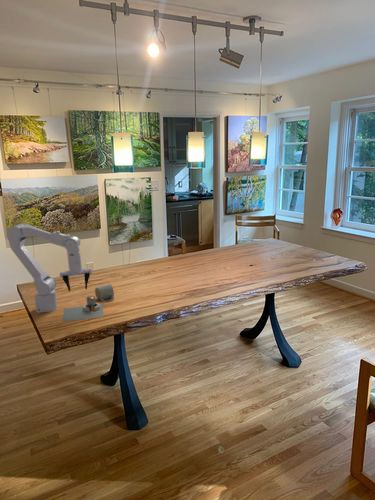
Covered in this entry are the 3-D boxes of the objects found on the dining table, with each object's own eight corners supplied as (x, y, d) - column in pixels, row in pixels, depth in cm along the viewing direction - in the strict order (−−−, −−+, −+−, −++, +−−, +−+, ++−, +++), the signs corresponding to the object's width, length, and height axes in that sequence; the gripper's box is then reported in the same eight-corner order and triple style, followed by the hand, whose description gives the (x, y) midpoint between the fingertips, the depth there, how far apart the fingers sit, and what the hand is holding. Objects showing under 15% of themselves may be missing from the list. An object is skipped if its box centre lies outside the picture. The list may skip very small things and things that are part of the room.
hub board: (62, 323, 168) (62, 318, 168) (64, 310, 183) (63, 305, 183) (103, 318, 173) (103, 313, 172) (102, 305, 188) (101, 301, 187)
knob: (87, 307, 184) (86, 296, 183) (95, 306, 185) (94, 295, 184) (88, 311, 179) (87, 299, 178) (96, 309, 181) (95, 298, 179)
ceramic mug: (95, 298, 198) (93, 284, 196) (110, 295, 202) (109, 281, 200) (101, 305, 189) (100, 290, 187) (116, 301, 193) (115, 287, 191)
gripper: (58, 266, 172) (61, 294, 175) (90, 262, 176) (93, 290, 179) (58, 262, 179) (62, 289, 182) (90, 259, 182) (93, 285, 185)
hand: (77, 289), depth 181 cm, fingers open, 7 cm apart
